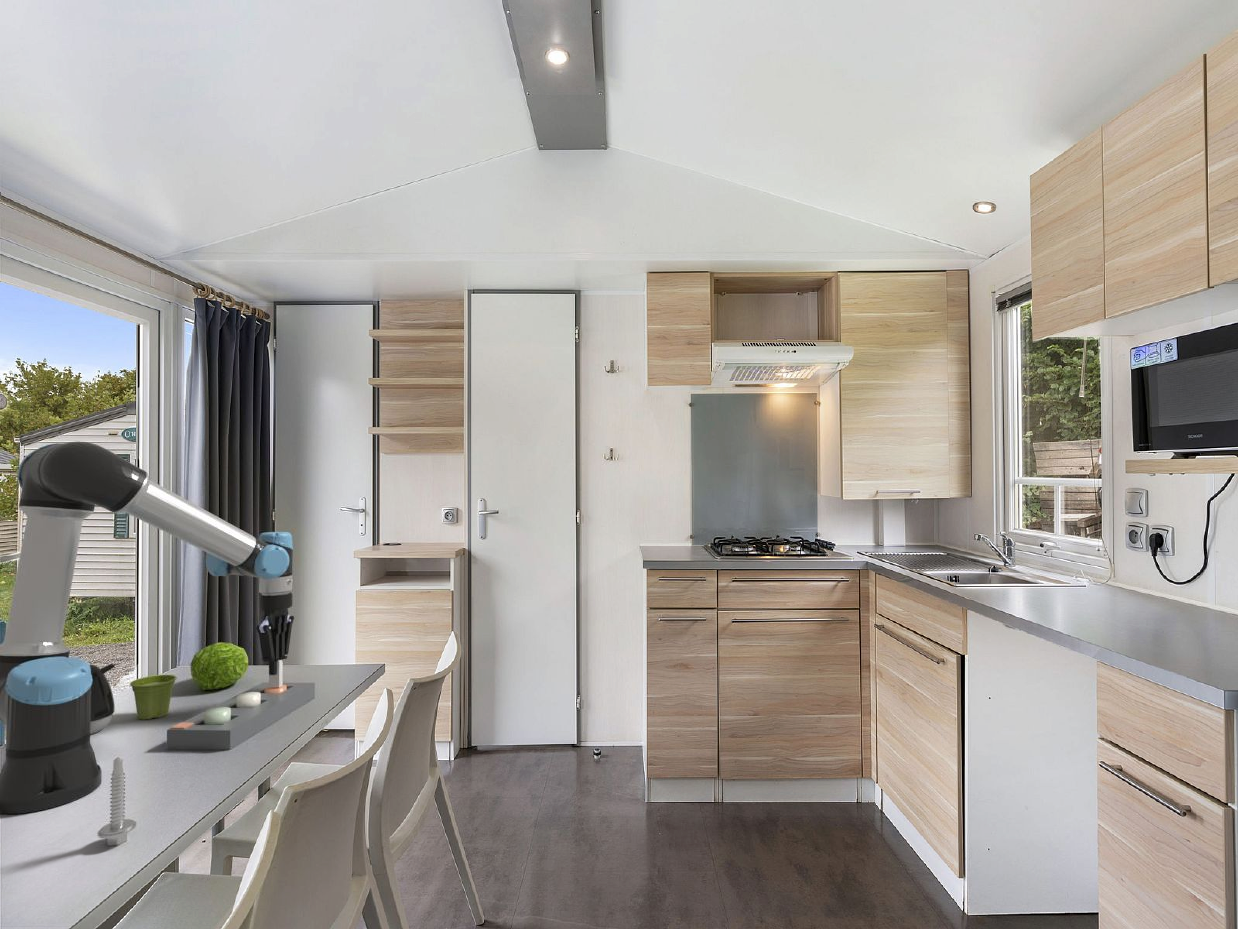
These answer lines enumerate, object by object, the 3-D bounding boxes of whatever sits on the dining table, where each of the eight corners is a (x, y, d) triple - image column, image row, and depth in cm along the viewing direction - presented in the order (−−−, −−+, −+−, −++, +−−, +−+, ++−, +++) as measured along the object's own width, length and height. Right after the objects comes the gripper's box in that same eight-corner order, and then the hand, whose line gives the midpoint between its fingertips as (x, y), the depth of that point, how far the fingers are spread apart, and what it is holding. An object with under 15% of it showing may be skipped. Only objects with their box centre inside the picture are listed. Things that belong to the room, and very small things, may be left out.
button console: (230, 749, 139) (230, 729, 139) (166, 749, 140) (166, 728, 140) (314, 698, 173) (314, 681, 173) (263, 698, 174) (263, 681, 174)
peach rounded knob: (279, 705, 165) (279, 690, 165) (260, 705, 165) (260, 690, 166) (290, 699, 170) (290, 684, 170) (271, 699, 170) (271, 684, 171)
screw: (109, 835, 105) (142, 832, 106) (89, 851, 100) (125, 848, 101) (110, 752, 106) (143, 750, 106) (91, 764, 101) (126, 762, 101)
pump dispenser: (123, 729, 152) (123, 662, 153) (66, 744, 144) (67, 673, 144) (105, 721, 158) (105, 656, 158) (50, 735, 149) (50, 667, 150)
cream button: (252, 714, 154) (252, 698, 154) (231, 714, 154) (231, 698, 155) (265, 707, 159) (265, 692, 159) (245, 707, 159) (245, 692, 160)
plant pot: (185, 709, 166) (186, 674, 166) (155, 723, 156) (156, 686, 157) (151, 709, 167) (151, 674, 167) (119, 722, 157) (119, 685, 157)
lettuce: (265, 650, 202) (223, 629, 199) (251, 659, 181) (203, 635, 179) (238, 690, 198) (195, 668, 196) (220, 704, 178) (171, 680, 175)
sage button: (220, 732, 143) (221, 715, 143) (198, 732, 144) (198, 714, 144) (235, 724, 148) (235, 707, 148) (214, 723, 148) (214, 707, 149)
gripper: (275, 597, 162) (275, 694, 161) (304, 588, 175) (303, 679, 174) (245, 597, 162) (245, 694, 162) (276, 589, 175) (276, 679, 175)
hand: (275, 686), depth 168 cm, fingers closed
